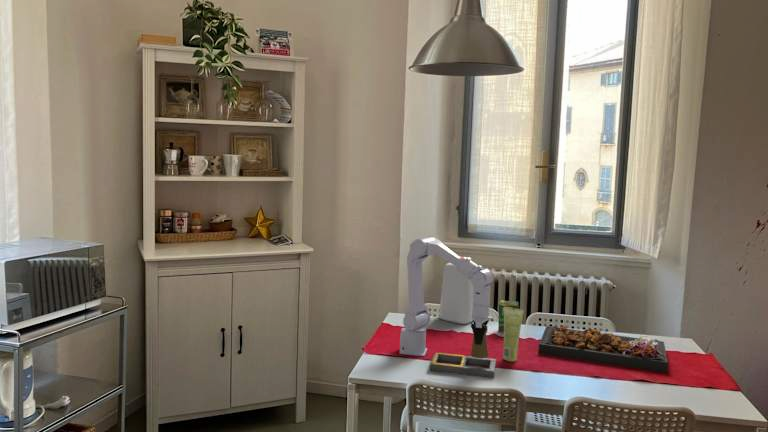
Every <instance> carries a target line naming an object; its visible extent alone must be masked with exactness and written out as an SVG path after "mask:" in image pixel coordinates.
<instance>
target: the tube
mask: <svg viewBox="0 0 768 432" xmlns="http://www.w3.org/2000/svg"><path fill="white" fill-rule="evenodd" d="M503 311H504V332H503V352H502V359H503V360H505V361H507V362H517V358H518V350H519V341H520V334H521V326H522V322H523V317H524V313H525V312H524V311H525V310H524V309H521V308H518V309H514V308H507V307H503Z"/></svg>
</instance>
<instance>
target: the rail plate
mask: <svg viewBox="0 0 768 432" xmlns="http://www.w3.org/2000/svg"><path fill="white" fill-rule="evenodd" d="M439 362H440V363H439ZM441 362H442V363H441ZM458 364H459V365H458ZM496 364H497V359H496V358H489V357H486V358H475V357H472V356H471V355H470V356H469V355H462V354H455V353H454V354H453V353H445V352H444V353H443V352H434V354H433V356H432V359H431V361H430V364H429V372H435V373H443V374H450V375H451V374H453V375H460V376H466V377H467V376H468V377H470V376H471V377H478V378H487V379H495V373H496V366H497V365H496ZM468 365H469V366H468ZM477 366H478V367H477ZM483 367H486V368H483Z"/></svg>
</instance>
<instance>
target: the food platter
mask: <svg viewBox="0 0 768 432" xmlns="http://www.w3.org/2000/svg"><path fill="white" fill-rule="evenodd" d="M537 352H538V355H540V354H541V355H547V356H551V357H559V358H567V359H572V360H578V361H585V362H591V363H593V362H594V363H598V362H599V364H604V363H605V364H606V365H612V366H618V367H624V366H625V368H632V369H639V370H645V371H652V372H657V373H658V372H660V373H664V374H665V373H666V374H668V370H669V360H668V356H667V351H666V346H665V341H661V340H659V339H656V338H655V339H652V338H649V337H648V335H644V334H643V335H640V336H639V337H631V336H625V335H623V336H622V335H617V334H614V333H613V332H611V333H610V332H609V333H607V332H603V333H602V332H601V330H599V329H598V328H595V329H592V328H588V329H584V330H580V329H573V328H568V327H567V326H566V325H561V326H559V327H558V326H555V325H552V326H550V325H546V327H545V329H544V332H543V333H542V336H541V339H540V341H539V344H538V351H537Z"/></svg>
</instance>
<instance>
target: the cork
mask: <svg viewBox="0 0 768 432" xmlns="http://www.w3.org/2000/svg"><path fill="white" fill-rule="evenodd" d="M482 325H483V326H487V325H484V324H482ZM471 330H472V329H471ZM472 332H473V330H472ZM487 333H488V328H487V329H486V331H485V333H484V336H483V341H482V344H481V345H477V344H475V340H474V336H473V337H472V338H473V339H472V344H471V351H470V356H471V357H475V358H489V352H488V351H489V349H488V342H487Z"/></svg>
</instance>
